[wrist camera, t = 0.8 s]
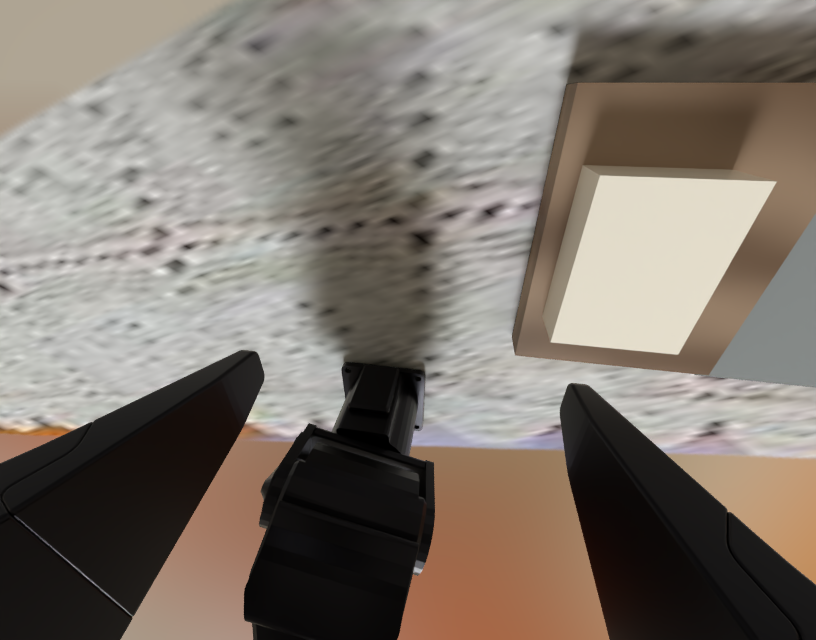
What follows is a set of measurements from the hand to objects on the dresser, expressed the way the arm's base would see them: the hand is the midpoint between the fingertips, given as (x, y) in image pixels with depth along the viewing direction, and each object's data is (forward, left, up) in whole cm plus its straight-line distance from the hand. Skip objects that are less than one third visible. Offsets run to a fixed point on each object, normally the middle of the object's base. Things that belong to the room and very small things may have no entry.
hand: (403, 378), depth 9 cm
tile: (0, -9, -11) cm, 14 cm away
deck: (0, -11, -13) cm, 17 cm away
